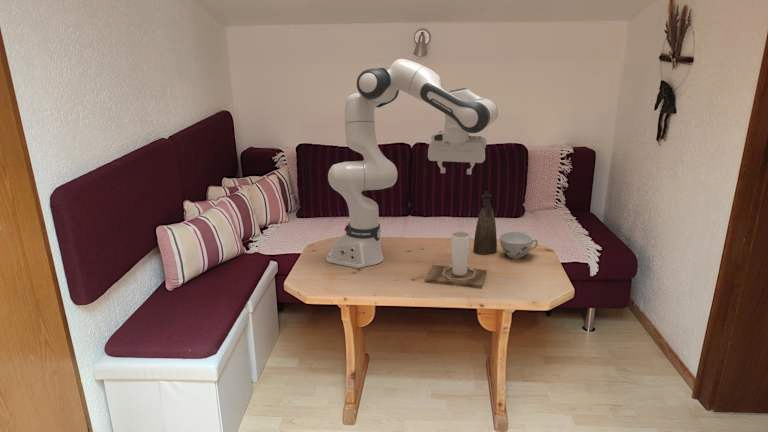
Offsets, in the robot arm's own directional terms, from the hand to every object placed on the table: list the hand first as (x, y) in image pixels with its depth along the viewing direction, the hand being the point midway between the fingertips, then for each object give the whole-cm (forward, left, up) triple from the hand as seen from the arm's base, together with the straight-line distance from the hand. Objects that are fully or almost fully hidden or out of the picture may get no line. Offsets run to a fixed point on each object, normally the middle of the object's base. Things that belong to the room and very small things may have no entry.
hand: (455, 173), depth 196 cm
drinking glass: (+4, -11, -34) cm, 36 cm away
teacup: (+23, +14, -35) cm, 44 cm away
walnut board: (+3, -12, -35) cm, 37 cm away
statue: (+10, +15, -35) cm, 40 cm away
